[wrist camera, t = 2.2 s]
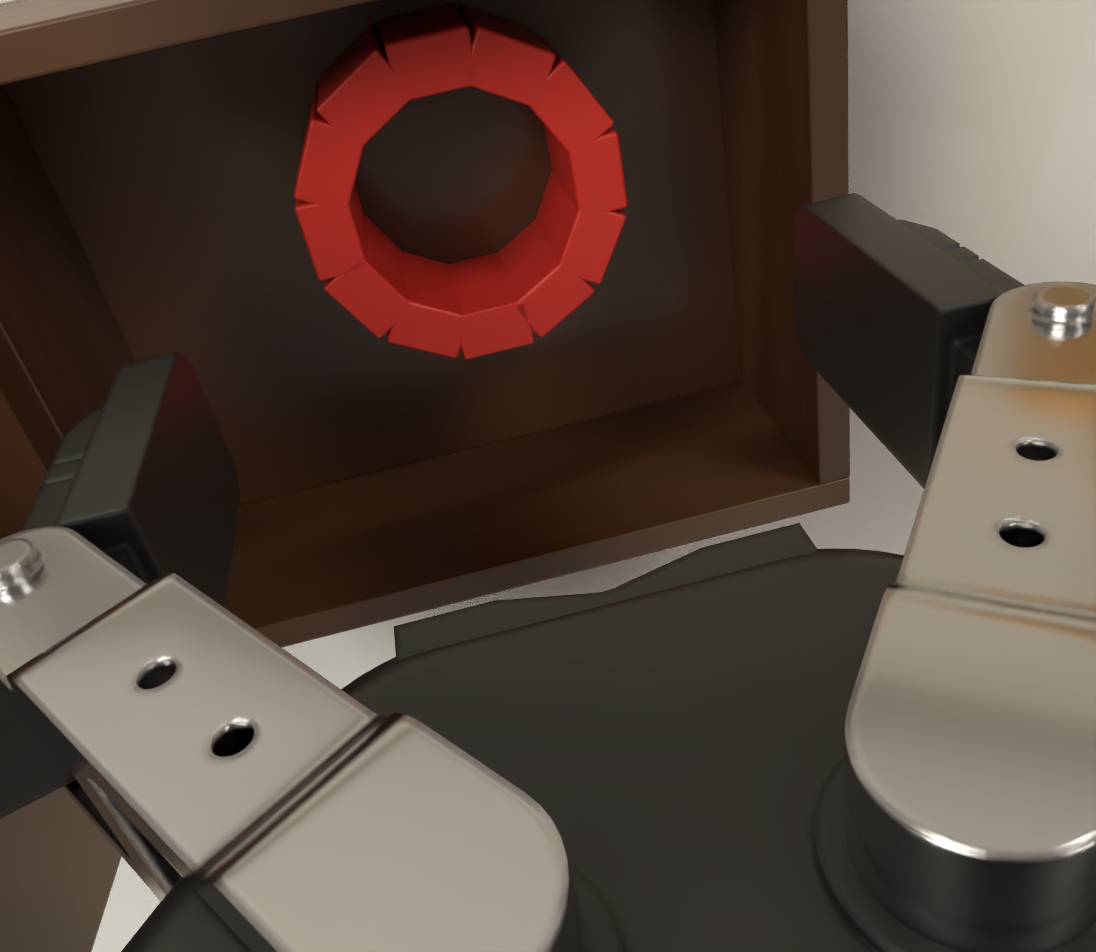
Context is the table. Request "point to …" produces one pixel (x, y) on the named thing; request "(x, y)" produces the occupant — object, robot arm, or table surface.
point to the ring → (483, 282)
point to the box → (443, 235)
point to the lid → (54, 820)
